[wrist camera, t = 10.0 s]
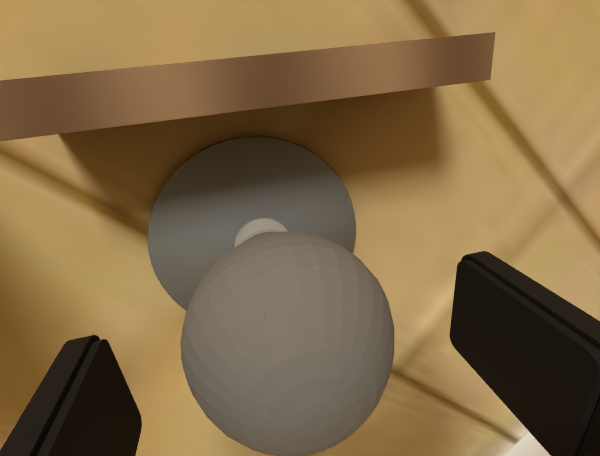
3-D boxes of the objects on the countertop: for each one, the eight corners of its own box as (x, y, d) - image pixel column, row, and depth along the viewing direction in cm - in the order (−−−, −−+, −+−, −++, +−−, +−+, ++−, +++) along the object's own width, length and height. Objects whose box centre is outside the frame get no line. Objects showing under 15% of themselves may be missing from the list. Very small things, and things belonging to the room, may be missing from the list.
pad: (347, 122, 15) (350, 123, 15) (356, 301, 19) (359, 305, 19) (119, 154, 14) (116, 155, 13) (179, 343, 18) (178, 348, 17)
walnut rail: (428, 47, 15) (495, 32, 11) (426, 83, 16) (490, 79, 12) (38, 87, 12) (-36, 83, 9) (54, 129, 13) (-9, 142, 9)
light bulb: (275, 152, 15) (367, 242, 6) (341, 246, 17) (478, 413, 8) (168, 231, 15) (91, 440, 6) (249, 313, 17) (283, 547, 8)
